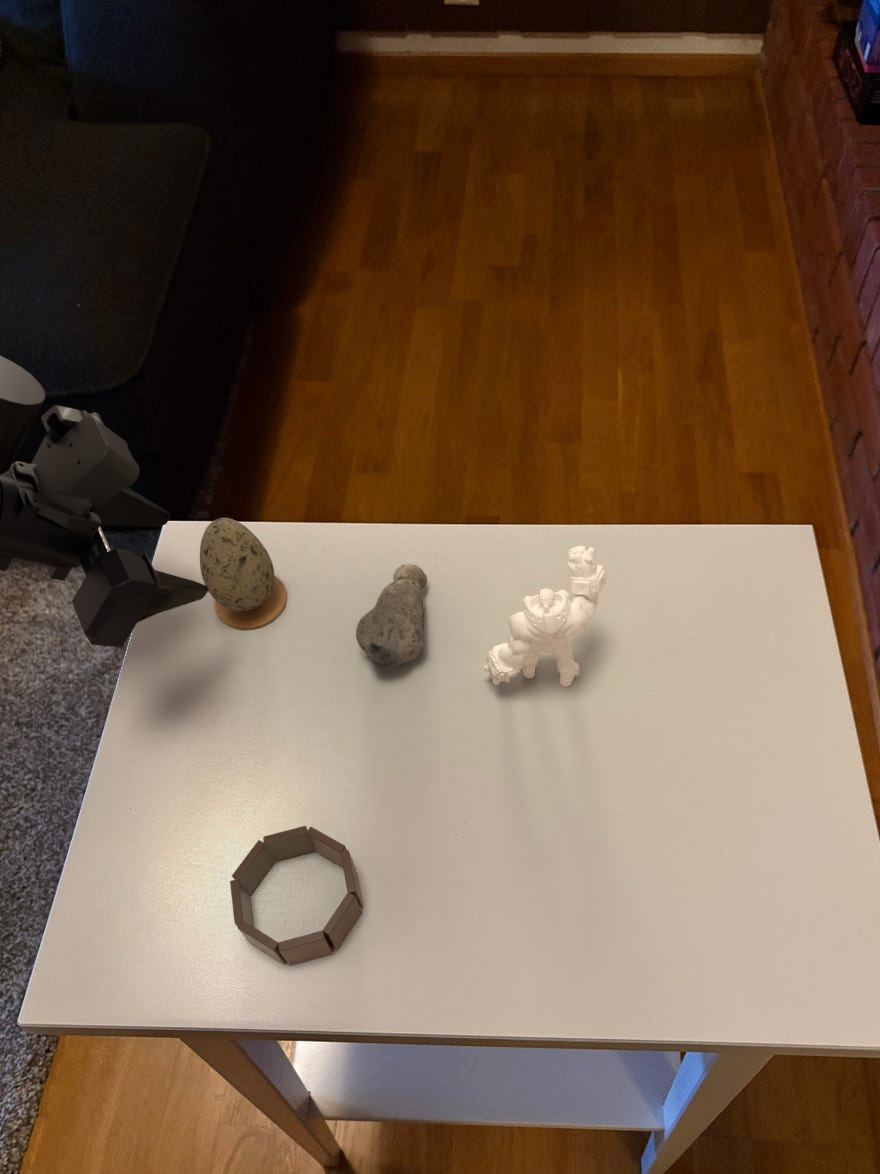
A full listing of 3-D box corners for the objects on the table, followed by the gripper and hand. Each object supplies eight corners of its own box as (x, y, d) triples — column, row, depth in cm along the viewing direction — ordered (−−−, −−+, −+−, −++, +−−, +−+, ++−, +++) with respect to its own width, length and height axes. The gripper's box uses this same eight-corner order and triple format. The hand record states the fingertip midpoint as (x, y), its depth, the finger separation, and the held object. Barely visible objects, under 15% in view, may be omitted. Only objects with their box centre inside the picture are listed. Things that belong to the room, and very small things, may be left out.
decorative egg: (209, 625, 79) (174, 551, 71) (223, 573, 83) (191, 496, 74) (276, 626, 79) (248, 552, 71) (287, 574, 82) (262, 497, 74)
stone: (402, 581, 83) (331, 569, 77) (440, 555, 80) (369, 540, 74) (423, 681, 80) (351, 676, 74) (464, 659, 76) (392, 651, 71)
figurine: (581, 625, 78) (591, 533, 69) (615, 667, 76) (630, 577, 66) (479, 676, 76) (474, 587, 66) (510, 721, 73) (510, 636, 63)
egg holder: (251, 976, 62) (238, 962, 59) (238, 864, 67) (225, 846, 64) (370, 943, 63) (363, 927, 60) (349, 835, 68) (341, 816, 65)
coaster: (219, 637, 79) (218, 634, 79) (213, 582, 83) (211, 579, 82) (291, 620, 80) (290, 617, 79) (282, 567, 83) (281, 564, 83)
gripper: (70, 507, 53) (281, 555, 65) (-1, 340, 63) (194, 409, 75) (-3, 639, 57) (207, 662, 69) (-59, 465, 67) (134, 511, 79)
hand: (186, 554), depth 73 cm, fingers open, 9 cm apart
